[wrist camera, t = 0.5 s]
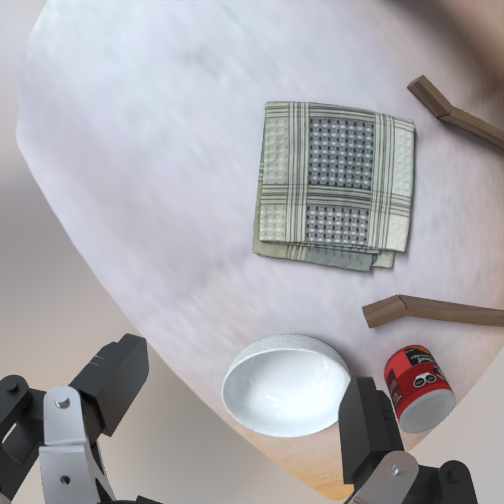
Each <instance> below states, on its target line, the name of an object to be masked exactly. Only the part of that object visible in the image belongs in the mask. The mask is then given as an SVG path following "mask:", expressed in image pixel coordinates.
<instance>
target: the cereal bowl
mask: <svg viewBox="0 0 504 504" xmlns="http://www.w3.org/2000/svg"><path fill="white" fill-rule="evenodd" d="M351 378H352V377H351V375H350V372H349V369H348V367H347V365H346V363H345V362H344V360H343V358H342V357H341V356H340V355H339V354H338V353H337V352H336V350H334V349H333V348H331V346H328V345H327V344H326V343H323V342H321V341H320V340H317V339H314V338H311V337H307V336H303V335H296V334H293V335H292V334H285V335H284V334H282V335H275V336H271V337H267V338H264V339H261V340H258V341H256V342H254V343H252V344H250V345H249V346H247V347H246V348H244V349H243V350H242V351H241V352H240V353H239V354H238V355H237V356H236V357H235V359H234V360H233V361H232V363H231V364H230V366H229V368H228V370H227V372H226V375H225V377H224V380H223V384H222V390H221V394H222V400H223V403H224V405H225V407H226V409H227V410H228V412H229V413H230V414H231V415H232V416H233V417H234V418H235V419H236V420H237V421H238V422H239V423H241V424H242V425H244V426H245V427H247V428H249V429H251V430H253V431H256V432H258V433H261V434H265V435H269V436H275V437H300V436H306V435H310V434H313V433H316V432H319V431H321V430H323V429H326V428H327V427H329V426H331V425H332V424H334V423H335V422H336V421H338V410H339V405H340V402H341V400H342V398H343V396H344V394H345V391H346V389H347V387H348V385H349V382H350V380H351Z"/></svg>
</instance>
